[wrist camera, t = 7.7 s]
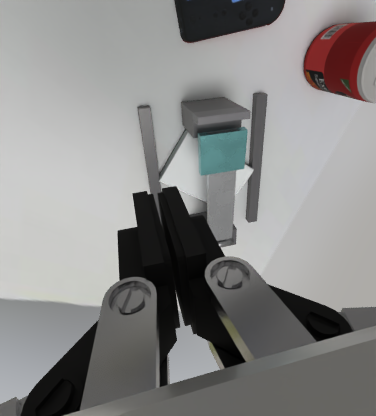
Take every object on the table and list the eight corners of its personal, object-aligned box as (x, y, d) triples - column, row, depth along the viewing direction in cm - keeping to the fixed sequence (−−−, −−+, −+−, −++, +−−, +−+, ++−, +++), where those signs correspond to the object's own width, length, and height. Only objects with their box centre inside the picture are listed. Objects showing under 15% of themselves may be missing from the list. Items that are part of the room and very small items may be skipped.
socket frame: (137, 107, 36) (144, 124, 29) (263, 92, 39) (297, 105, 31) (157, 235, 47) (165, 271, 40) (253, 217, 50) (277, 247, 43)
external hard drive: (185, 128, 39) (250, 166, 44) (157, 177, 41) (221, 207, 47) (188, 132, 37) (255, 170, 43) (158, 182, 40) (225, 212, 45)
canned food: (292, 81, 39) (348, 95, 30) (319, 14, 35) (392, 6, 26) (334, 95, 41) (397, 111, 32) (363, 34, 38) (444, 33, 29)
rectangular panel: (197, 132, 32) (200, 136, 31) (243, 126, 33) (247, 130, 32) (200, 247, 42) (202, 252, 41) (235, 240, 43) (238, 245, 42)
